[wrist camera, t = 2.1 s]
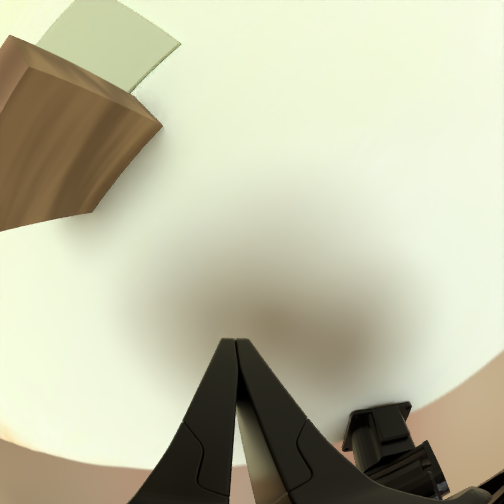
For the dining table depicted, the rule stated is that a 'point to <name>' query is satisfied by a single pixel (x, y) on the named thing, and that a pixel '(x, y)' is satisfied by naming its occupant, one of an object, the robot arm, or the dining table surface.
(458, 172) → the dining table surface
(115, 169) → the slab
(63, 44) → the mat
